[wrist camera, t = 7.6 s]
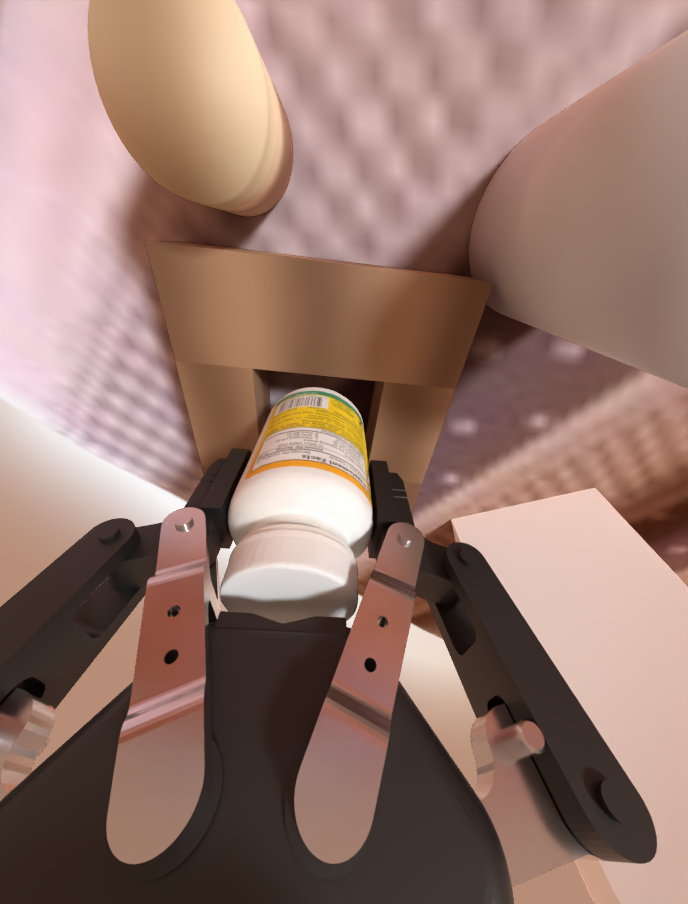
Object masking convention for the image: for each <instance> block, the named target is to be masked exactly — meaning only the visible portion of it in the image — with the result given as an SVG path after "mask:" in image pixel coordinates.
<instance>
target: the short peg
mask: <svg viewBox="0 0 688 904" xmlns="http://www.w3.org/2000/svg"><path fill="white" fill-rule="evenodd" d="M88 40H89V50H90V57H91V63H92V68H93V72H94V77H95V81H96V84H97V87H98V90H99V94H100V97H101V99H102V102H103V105H104V107H105V110H106V112H107V114H108V117H109V119H110V121H111V123H112V125H113V127H114V129H115V131H116V132H117V134H118V136H119V138H120V139H121V141H122V143H123V144H124V146H125V147H126V149H127V150H128V151H129V153H130V154H131V156H132V157H133V158H134V159H135V161H136V162H137V163H138V164H139V166H140V167H141V168H142V169H143V170H144V171H145V172H146V173H147V174H148V175H149V176H150V177H151V178H152V179H153V180H155V181H156V182H157V183H158V184H159V185H161V186H162V187H163V188H165V189H166V190H168V191H169V192H171V193H173V194H175V195H177V196H179V197H181V198H184V199H186V200H189V201H193V202H196V203H199V204H203V205H206V206H209V207H213V208H216V209H220V210H223V211H226V212H230V213H233V214H237V215H241V216H258V215H261V214H264V213H266V212H267V211H269V210H270V209H272V208H273V207H274V206H275V205H276V204H277V203H278V202H279V201H280V199H281V198H282V196H283V195H284V193H285V191H286V189H287V186H288V183H289V180H290V176H291V172H292V165H293V142H292V135H291V130H290V126H289V122H288V118H287V115H286V112H285V110H284V108H283V105H282V103H281V101H280V98H279V96H278V94H277V92H276V89H275V87H274V85H273V83H272V80H271V78H270V76H269V74H268V71H267V69H266V67H265V65H264V62H263V60H262V58H261V55H260V53H259V51H258V49H257V46H256V44H255V42H254V40H253V37H252V35H251V33H250V31H249V28H248V26H247V24H246V22H245V19H244V17H243V15H242V13H241V12H240V10H239V8H238V6H237V4H236V2H235V0H90V3H89V12H88Z"/></svg>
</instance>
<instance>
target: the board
mask: <svg viewBox="0 0 688 904" xmlns="http://www.w3.org/2000/svg"><path fill="white" fill-rule="evenodd" d="M145 243H146V247H147V251H148V255H149V259H150V263H151V267H152V271H153V275H154V279H155V283H156V287H157V291H158V295H159V299H160V303H161V307H162V311H163V315H164V319H165V323H166V327H167V331H168V334H169V338H170V342H171V346H172V350H173V354H174V358H175V362H176V366H177V370H178V374H179V378H180V382H181V386H182V390H183V394H184V398H185V402H186V406H187V410H188V414H189V418H190V422H191V426H192V430H193V434H194V438H195V441H196V445H197V449H198V453H199V457H200V461H201V465H202V469H203V473H204V475H205V473H206V471H207V470H208V468H209V466H210V465H211V464H212V463H214V462H215V461H216V460H218V459H219V458H225V459H227V457H228V455H229V453H230V451H231V450H232V448H241V449H250V450H251V452H252V453H253V451H254V448H255V446H256V444H257V441H258V439H259V437H260V435H261V432H262V430H263V428H264V425H265V423H266V421H267V419H268V416H269V414H270V412H271V409H270V392H269V375H268V370H271V371H281V372H291V373H301V374H311V375H321V376H331V377H341V378H351V379H361V380H371V381H375V384H374V390H373V396H372V402H371V407H370V413H369V419H368V425H367V430H366V436H365V441H366V449H367V459H368V467H369V463H370V460H379V461H387V465H388V470H389V472H391V473H397V474H398V475H399V476H400V477H401V479H402V480H403V482H404V486H405V491H406V494H407V499H408V502H409V506H410V510H411V513H412V510H413V507H414V504H415V501H416V499H417V496H418V493H419V490H420V487H421V485H422V482H423V479H424V476H425V473H426V471H427V468H428V465H429V462H430V459H431V457H432V454H433V451H434V448H435V445H436V443H437V440H438V437H439V434H440V431H441V429H442V426H443V423H444V420H445V418H446V415H447V412H448V409H449V406H450V404H451V401H452V398H453V395H454V392H455V390H456V387H457V384H458V381H459V378H460V376H461V373H462V370H463V367H464V364H465V362H466V359H467V356H468V353H469V350H470V348H471V345H472V342H473V339H474V336H475V334H476V331H477V328H478V325H479V322H480V320H481V317H482V314H483V311H484V308H485V306H486V303H487V300H488V297H489V294H490V292H491V289H492V286H493V283H491V282H487V281H483V280H479V279H475V278H471V277H466V276H458V275H450V274H442V273H434V272H426V271H418V270H409V269H401V268H393V267H385V266H377V265H369V264H361V263H353V262H344V261H336V260H328V259H320V258H312V257H304V256H296V255H287V254H279V253H271V252H263V251H255V250H247V249H239V248H231V247H222V246H214V245H206V244H198V243H190V242H178V241H145Z"/></svg>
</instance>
